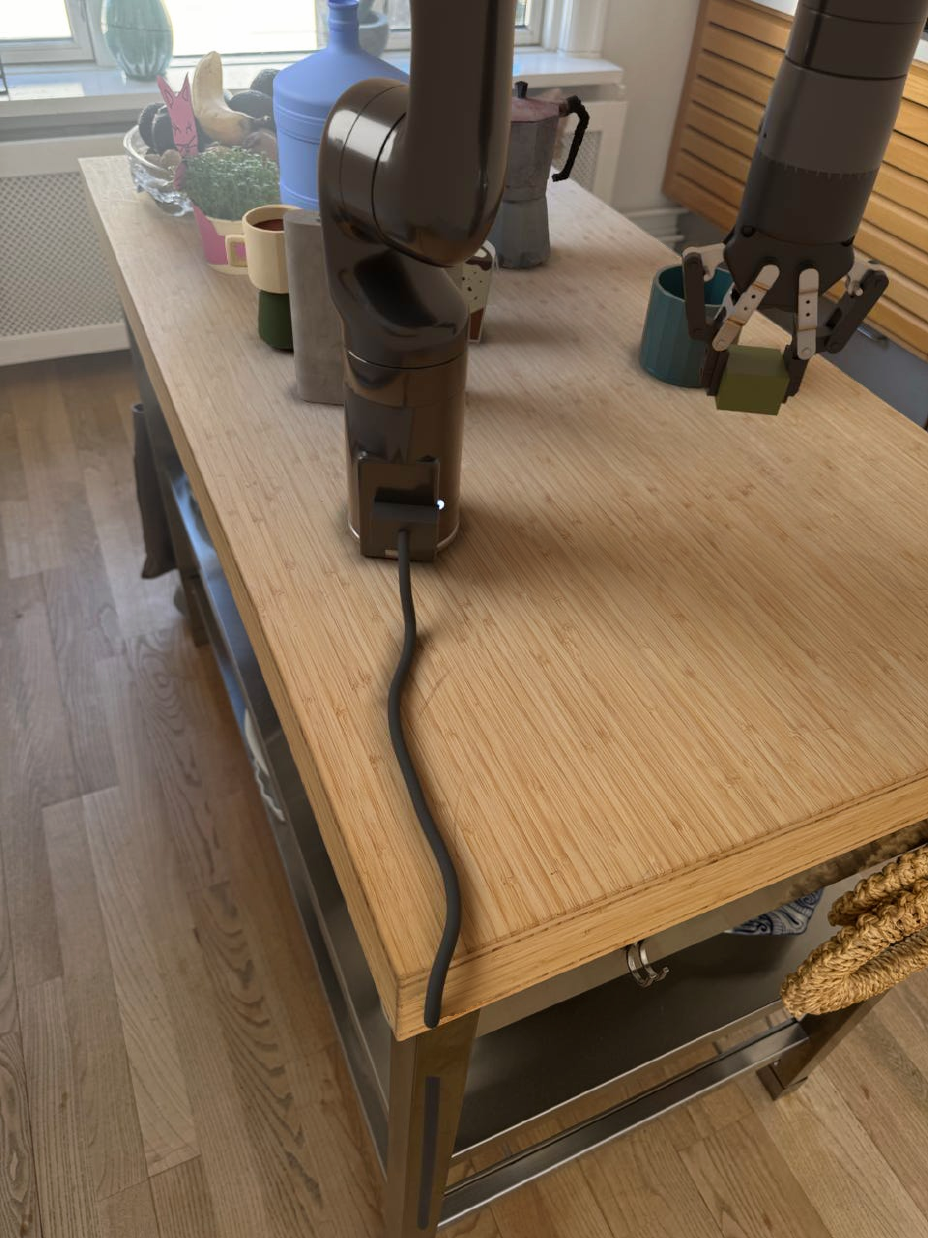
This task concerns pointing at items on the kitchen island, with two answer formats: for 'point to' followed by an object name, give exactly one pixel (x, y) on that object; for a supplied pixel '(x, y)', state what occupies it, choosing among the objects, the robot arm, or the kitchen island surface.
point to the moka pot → (532, 177)
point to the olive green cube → (753, 381)
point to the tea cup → (677, 327)
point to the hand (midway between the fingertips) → (744, 393)
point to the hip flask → (316, 310)
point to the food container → (478, 286)
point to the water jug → (319, 100)
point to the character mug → (266, 270)
